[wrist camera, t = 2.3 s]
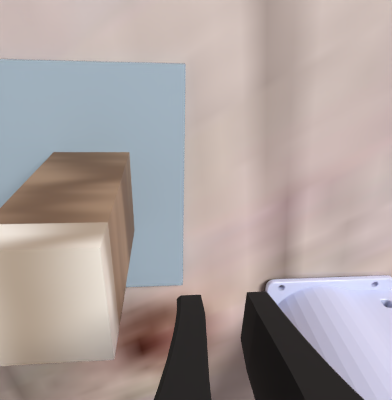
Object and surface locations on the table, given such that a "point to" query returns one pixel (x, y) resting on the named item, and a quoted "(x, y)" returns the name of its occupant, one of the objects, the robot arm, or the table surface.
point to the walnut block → (66, 259)
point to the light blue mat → (105, 141)
